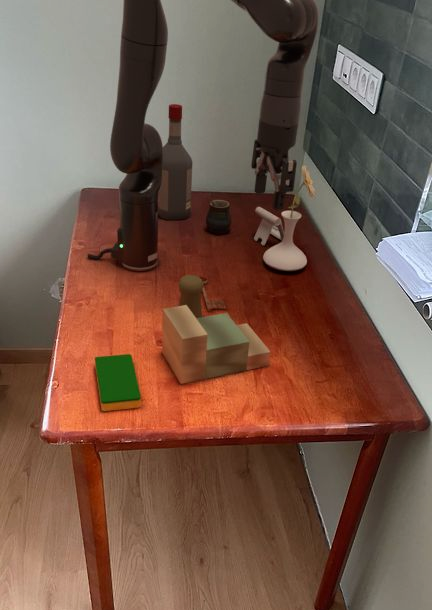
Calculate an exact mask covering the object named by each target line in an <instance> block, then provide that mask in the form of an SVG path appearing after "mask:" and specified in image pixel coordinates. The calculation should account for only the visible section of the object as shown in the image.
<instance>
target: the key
mask: <svg viewBox="0 0 432 610" xmlns="http://www.w3.org/2000/svg"><path fill="white" fill-rule="evenodd" d="M199 277H200V278H201V280H202V282H203V290H202V292H201V293H202V296H203V300H204V303H205V305H206V308H207V311H208V312H211V311H212V310H215V309H216V310H217V309H218V310H219V309H220V310H226V305H225V303H224V299H209V297H208V293H207V291H206V288H205V284H208V282H209V280H208V279H207V278H206V277H203V276H199Z"/></svg>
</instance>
